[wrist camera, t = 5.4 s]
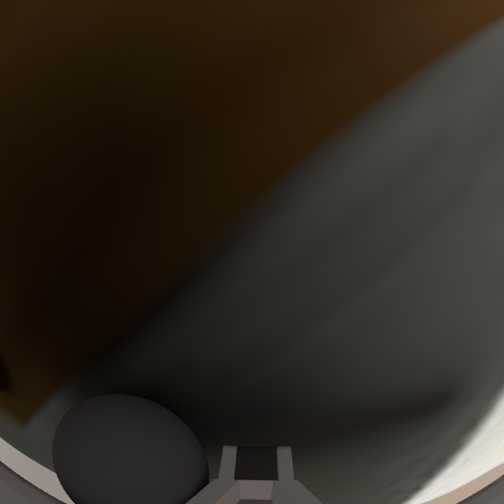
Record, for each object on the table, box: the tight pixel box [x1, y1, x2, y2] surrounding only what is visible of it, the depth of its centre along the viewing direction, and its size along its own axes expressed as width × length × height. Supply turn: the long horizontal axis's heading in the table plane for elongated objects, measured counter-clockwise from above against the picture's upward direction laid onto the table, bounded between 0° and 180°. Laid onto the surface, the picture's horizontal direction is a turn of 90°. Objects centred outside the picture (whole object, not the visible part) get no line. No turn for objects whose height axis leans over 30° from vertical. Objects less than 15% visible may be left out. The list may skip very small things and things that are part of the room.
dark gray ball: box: [52, 394, 209, 504], centre depth 7 cm, size 6×6×6 cm
